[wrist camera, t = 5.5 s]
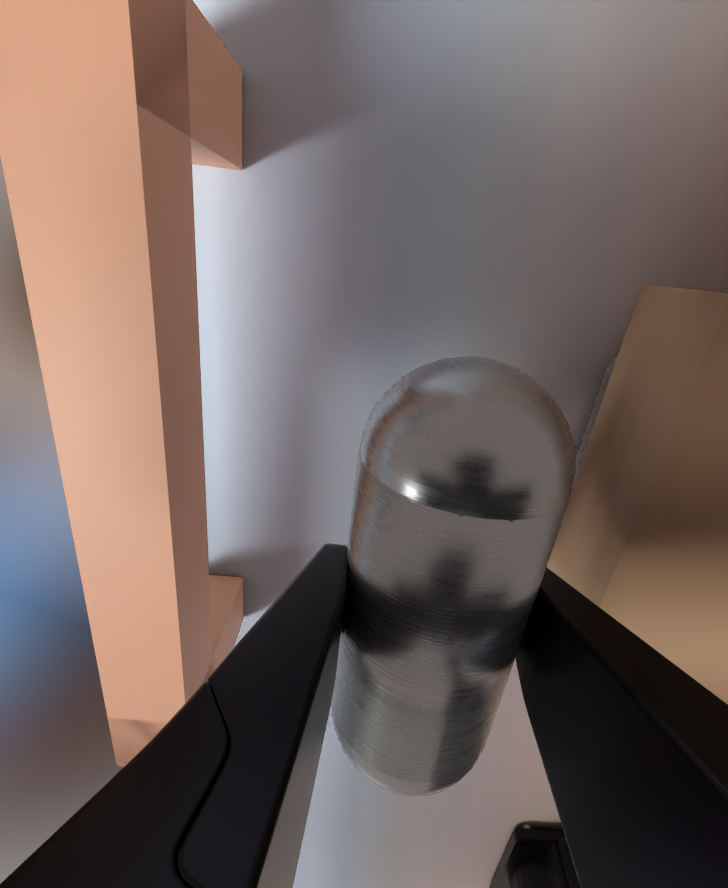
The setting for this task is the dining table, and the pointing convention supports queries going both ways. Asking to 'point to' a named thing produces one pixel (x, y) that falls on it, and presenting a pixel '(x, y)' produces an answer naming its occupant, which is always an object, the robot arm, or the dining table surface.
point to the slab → (660, 486)
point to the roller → (444, 565)
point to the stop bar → (124, 319)
